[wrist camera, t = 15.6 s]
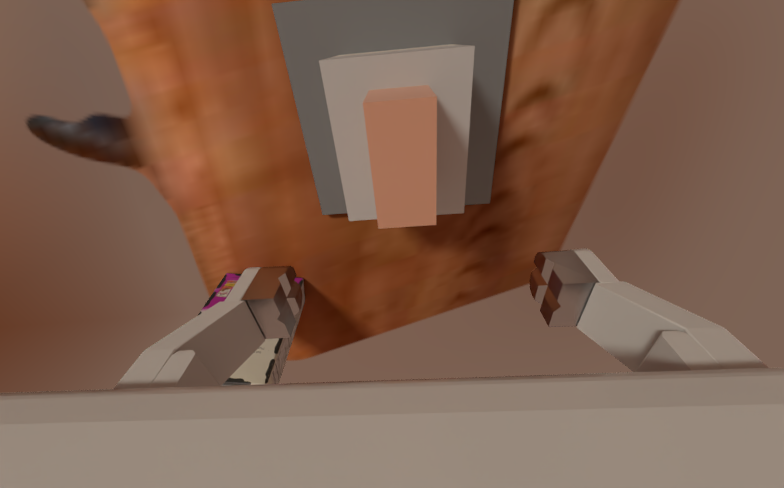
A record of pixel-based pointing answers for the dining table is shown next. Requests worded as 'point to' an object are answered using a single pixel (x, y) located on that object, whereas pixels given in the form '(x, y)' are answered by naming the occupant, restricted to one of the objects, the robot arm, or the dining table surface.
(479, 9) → the white stack on tray
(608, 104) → the dining table surface
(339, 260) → the dining table surface
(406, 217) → the terracotta brick
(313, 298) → the dining table surface
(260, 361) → the candy bar box
